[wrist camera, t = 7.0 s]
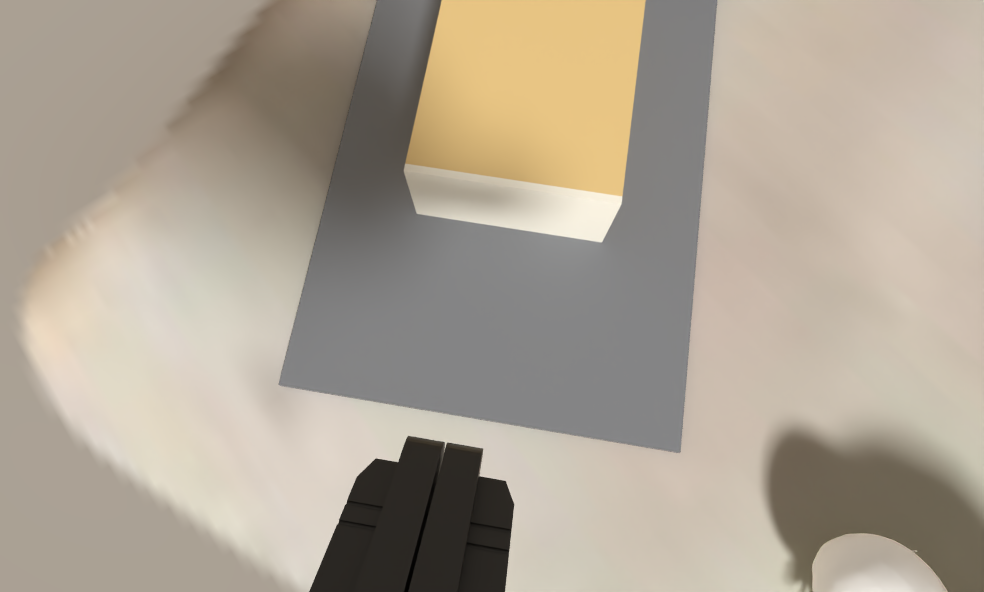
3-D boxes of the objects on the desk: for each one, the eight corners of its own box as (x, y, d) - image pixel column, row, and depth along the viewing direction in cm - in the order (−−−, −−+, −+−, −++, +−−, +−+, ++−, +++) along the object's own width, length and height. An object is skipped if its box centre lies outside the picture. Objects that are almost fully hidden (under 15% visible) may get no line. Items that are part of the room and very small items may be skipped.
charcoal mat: (717, -41, 30) (720, -48, 29) (677, 452, 24) (680, 452, 23) (401, -84, 30) (400, -91, 30) (281, 385, 24) (278, 384, 24)
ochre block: (601, 242, 26) (631, 7, 29) (621, 203, 22) (653, -63, 25) (416, 213, 26) (465, -16, 29) (403, 170, 22) (461, -89, 25)
